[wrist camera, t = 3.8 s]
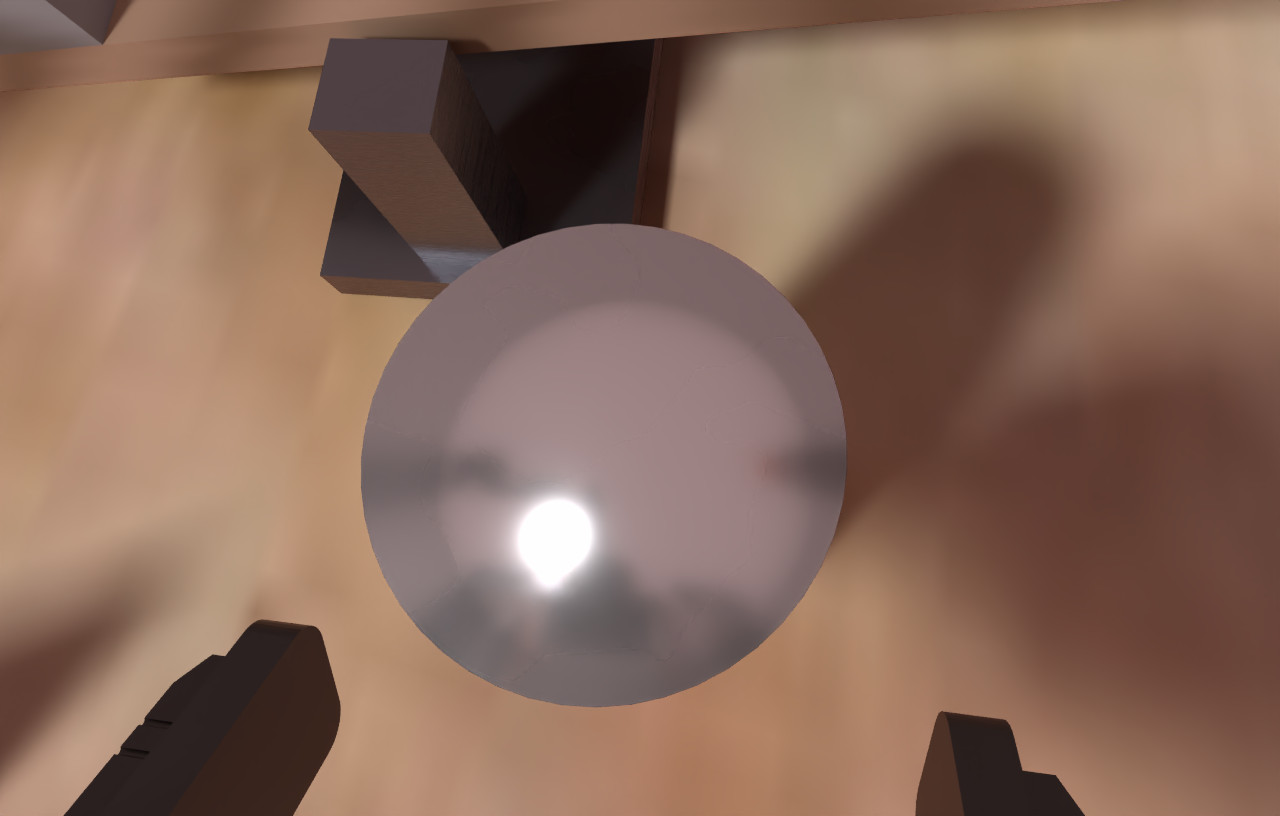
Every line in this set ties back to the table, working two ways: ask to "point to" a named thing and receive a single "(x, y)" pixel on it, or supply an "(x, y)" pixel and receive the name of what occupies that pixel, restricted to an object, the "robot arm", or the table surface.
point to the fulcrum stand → (475, 152)
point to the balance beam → (375, 29)
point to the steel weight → (604, 465)
